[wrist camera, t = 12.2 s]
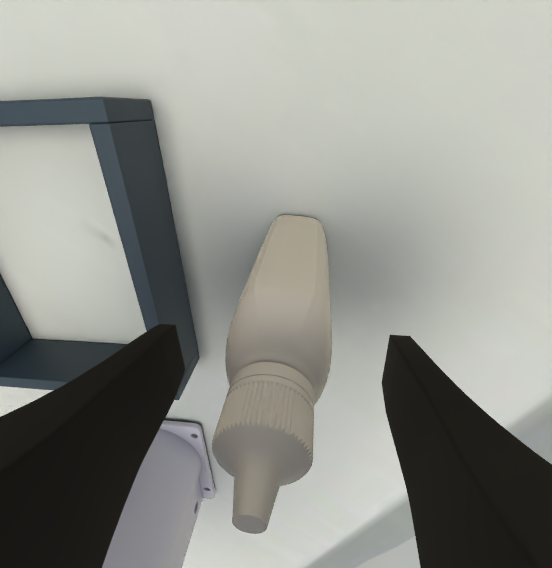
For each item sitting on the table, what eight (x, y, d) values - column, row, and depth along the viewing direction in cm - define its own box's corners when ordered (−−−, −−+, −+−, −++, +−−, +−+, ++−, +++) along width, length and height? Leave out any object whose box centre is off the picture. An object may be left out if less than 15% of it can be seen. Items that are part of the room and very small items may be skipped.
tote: (199, 358, 21) (179, 400, 18) (26, 347, 22) (-20, 384, 19) (150, 99, 14) (102, 96, 11) (-97, 109, 15) (-200, 110, 12)
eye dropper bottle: (232, 280, 18) (105, 530, 7) (289, 196, 15) (219, 395, 5) (297, 320, 18) (266, 599, 8) (362, 247, 16) (443, 516, 5)
